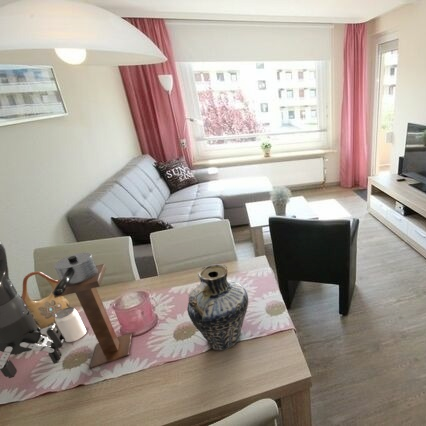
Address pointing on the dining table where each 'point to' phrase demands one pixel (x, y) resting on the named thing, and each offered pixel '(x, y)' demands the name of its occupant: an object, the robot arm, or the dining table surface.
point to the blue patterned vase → (218, 307)
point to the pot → (74, 271)
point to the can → (70, 324)
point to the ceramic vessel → (44, 303)
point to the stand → (99, 320)
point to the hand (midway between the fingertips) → (36, 367)
